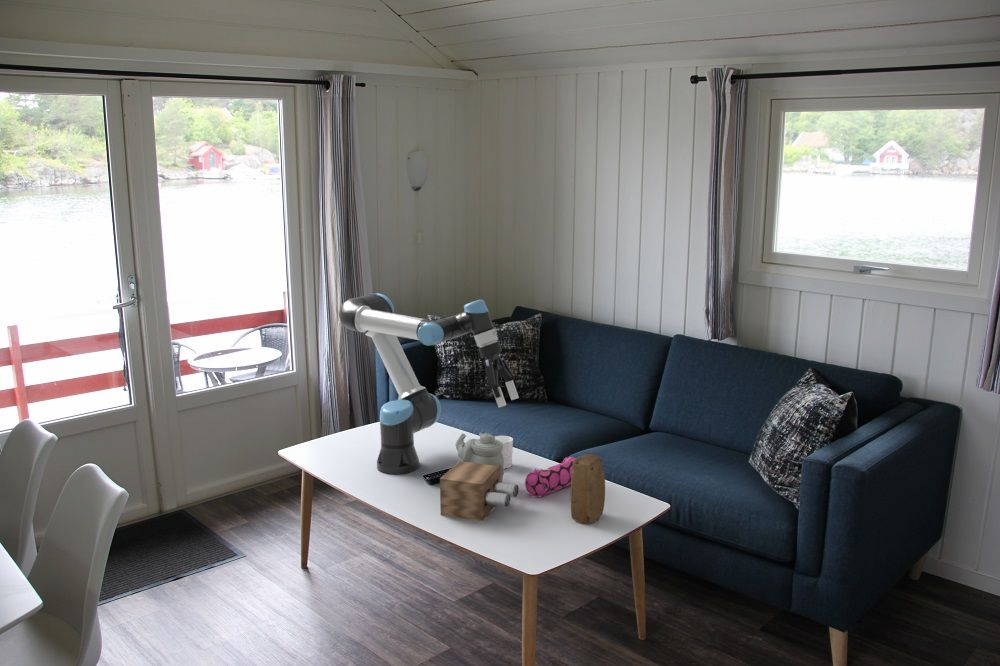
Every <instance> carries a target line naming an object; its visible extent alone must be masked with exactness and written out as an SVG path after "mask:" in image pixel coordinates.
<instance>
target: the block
mask: <svg viewBox="0 0 1000 666" xmlns="http://www.w3.org/2000/svg"><path fill="white" fill-rule="evenodd" d="M575 458H576V459H575V460H574V461H573V471H572V476H571V477H572V479H571V485H570V514H571V518H572V519H573V520H575V521H576V522H578V523H580V524H593V523H596V522H597V521H598V520H600V517H601V516H602V514H603V512H604V509H605V499H606V476H605V471H604V468H603V462H602V457H601V456H599V455H597V454H592V453H584V454H582V455H580V456H578V457H575Z"/></svg>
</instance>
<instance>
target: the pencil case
mask: <svg viewBox="0 0 1000 666" xmlns="http://www.w3.org/2000/svg"><path fill="white" fill-rule="evenodd" d="M576 458H577V457H574V456H567V457H565V458H564V459H563V460H562V462H560V463H558V464H556V465H552V466H550V467H547V468H539V469H538V468H535V469H534V470H532V471H530V472H529V473H528V474H527V475H526V477H525V479H524V480H525V481H524V487H525V490H526V492H527V493H528V494H529V495H530V496H532V497H534V498H542V497H545V496H547V495H549V494H550V493H551V494H552V493H554V492H556V491H558V490H561V489H563V488H566V487H568V486H569V487H570V486H571V479H572V477H571V476H572V471H573V461H574V460H575V459H576Z"/></svg>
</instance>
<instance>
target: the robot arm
mask: <svg viewBox="0 0 1000 666" xmlns="http://www.w3.org/2000/svg"><path fill="white" fill-rule="evenodd" d="M394 308H395V307H394V304H393V303H392V301H391V299H390V298H389V297H388V296H386V295H385V294H382V293H368V294H366V295H362V296H357V297H352V298H349V299H347V300H345V301H343V303H342V304H341V306H340V308H339V311H338V312H339V313H338V317H339V318H338V319H339V321H340V323H341V325H343V327H344V328H346V329H347V330H350V331H353V332H360V333H364V334H365V336H367V337H370V338H371V339H372V343H374V345H375V348H376V349H377V352H378V354H379V356H380V358H381V360H382V363H383V365H384V367H385V369H386V372H387V373H388V375H389V377H390V380H391V382H392V384H393V386H394V388H395V390H396V392H397V394H398V397H397V399H395V400H391V401H388V402H386V403H384V404H383V405H382V406H381V408H380V410H379V411H380V412H379V425H380V430H379V431H380V444H381V445H380V450H379V452H378V457H377V460H376V469H377V470H378V471H379V472H381V473H385V474H389V475H401V474H407V473H412V472H414V471H416V470H418V468H420V459H419V456H418V453H417V450H416V446H415V442H414V438H415V437H414V436H415V435H414V434H415V433H418V432H420V431H422V430H424V429H427V428H430V427H432V426H433V425H434V424H436V423H437V422H438V421H439V420H440V417H441V414H442V405H441V402H440V400H439V398H438V396H436V395H434V394H432V393H429V392H428V390H427V388H426V387H425V386H422V385H421V384H420V383H419V379H418V378H417V376H416V374H415V371H414V370H413V367H412V365H411V363H410V361H409V360H408V358H407V356H406V354H405V352H404V351H405V350H404V348H403V347H402V345H401V343H400V341H399V338H398V337H400V338H404V339H409V340H416V341H419V342H420V343H421V344H422V345H424V346H426V347H429V346H435V345H438V344H441V343H443V342H446V341H449V340H454V339H457V338H459V337H462V336H463V335H467V334H469V333H472V334H473V337H474V341H475V344H476V346H477V347H479V348H478V352H479V354H480V358H481V359H485V358H486V360H483V365H484V369H485V375H486V381H487V388H488V390H489V391H492V394H493V396H494V398H495V401H496V404H497V407H498V408H502V407H505V406H507V403H506V400H505V397H504V394H503V391H502V389H501V387H500V386H499V374H500V376H501V377H502V378H503V380H504V381H505V386H506V388H507V392H508V395H509V398H510V400H511V401H514V400H516V399H517V400H518V399H519V398H520V397H519V394H518V391H517V388H516V386H515V383H514V382H515V381H514V380H515V379H516V377H515V375H514V374H513V371H512V369H511V368H510V366H509V365H508V363H507V361H506V359H505V356H504V354H503V353H502V351H503V348H502V346H501V343H500V341H497V340H499V338H498V336H497V335H498V331H496V329H495V327H494V324H493V320H492V318H491V315H490V312H489V309H488V307H487V304H486V302H485V300H484V299H477V300H473V301H470V302H469V303H465V304H464V305H463V309H464V311H462V312H459V313H457V314H454V315H452V316H448V317H444V318H441V319H437V320H431V319H426V318H420V317H416V316H409V315H404V314H400V313H399V314H398V313H394V311H395V309H394ZM499 353H501V354H499Z"/></svg>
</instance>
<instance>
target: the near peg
mask: <svg viewBox="0 0 1000 666" xmlns="http://www.w3.org/2000/svg"><path fill="white" fill-rule="evenodd" d="M484 504H490V505H496V506H499V507H506V508H508V507H509V506H510V504H511V496H510V494H503V493H495V492H487V491H486V492H485V493H484Z"/></svg>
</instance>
